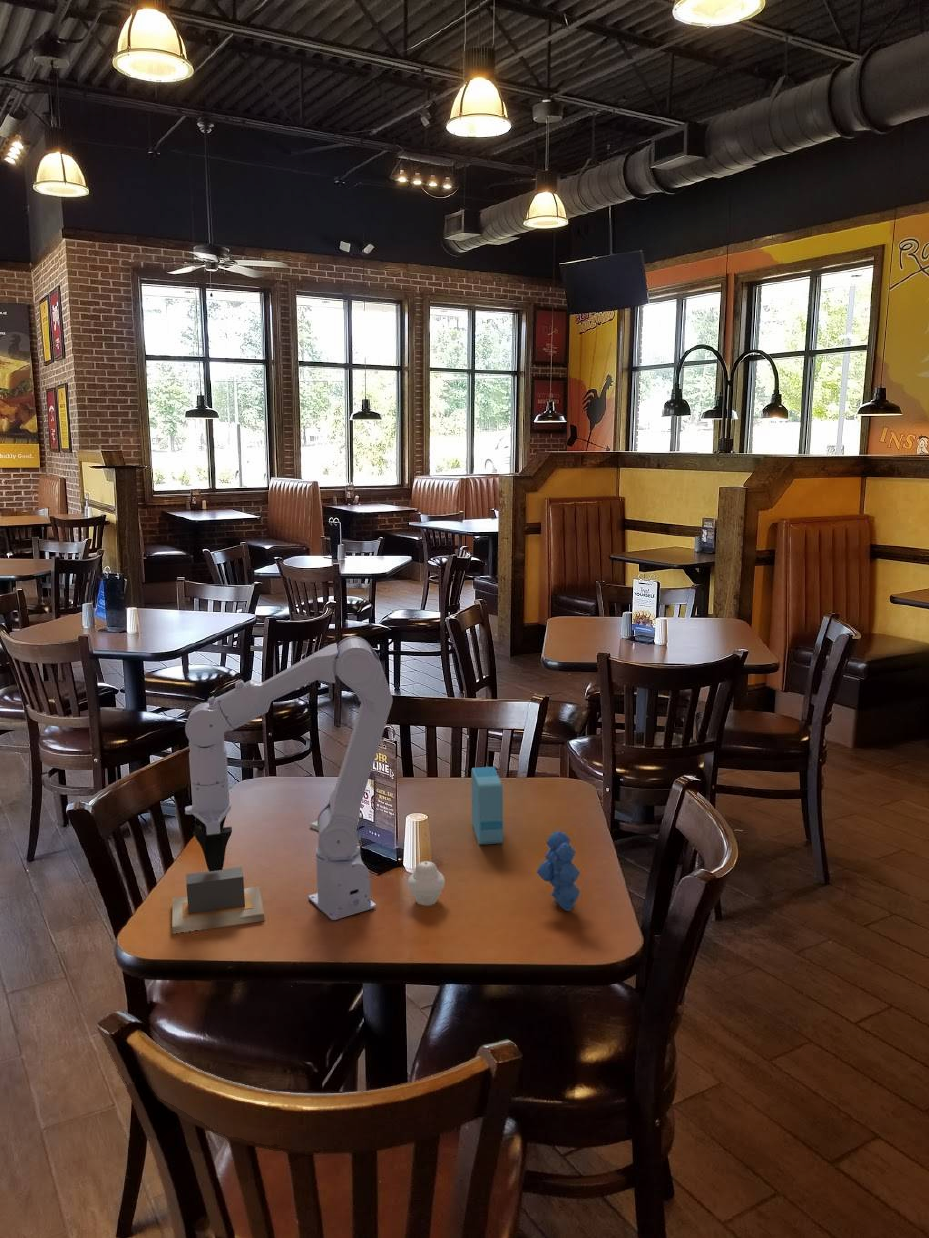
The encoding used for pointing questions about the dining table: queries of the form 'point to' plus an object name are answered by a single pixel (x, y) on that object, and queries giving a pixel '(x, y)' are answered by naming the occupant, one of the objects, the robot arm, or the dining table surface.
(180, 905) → the board
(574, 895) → the grapes
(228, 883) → the block
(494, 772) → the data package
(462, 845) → the dining table surface
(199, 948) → the dining table surface
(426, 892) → the muffin
